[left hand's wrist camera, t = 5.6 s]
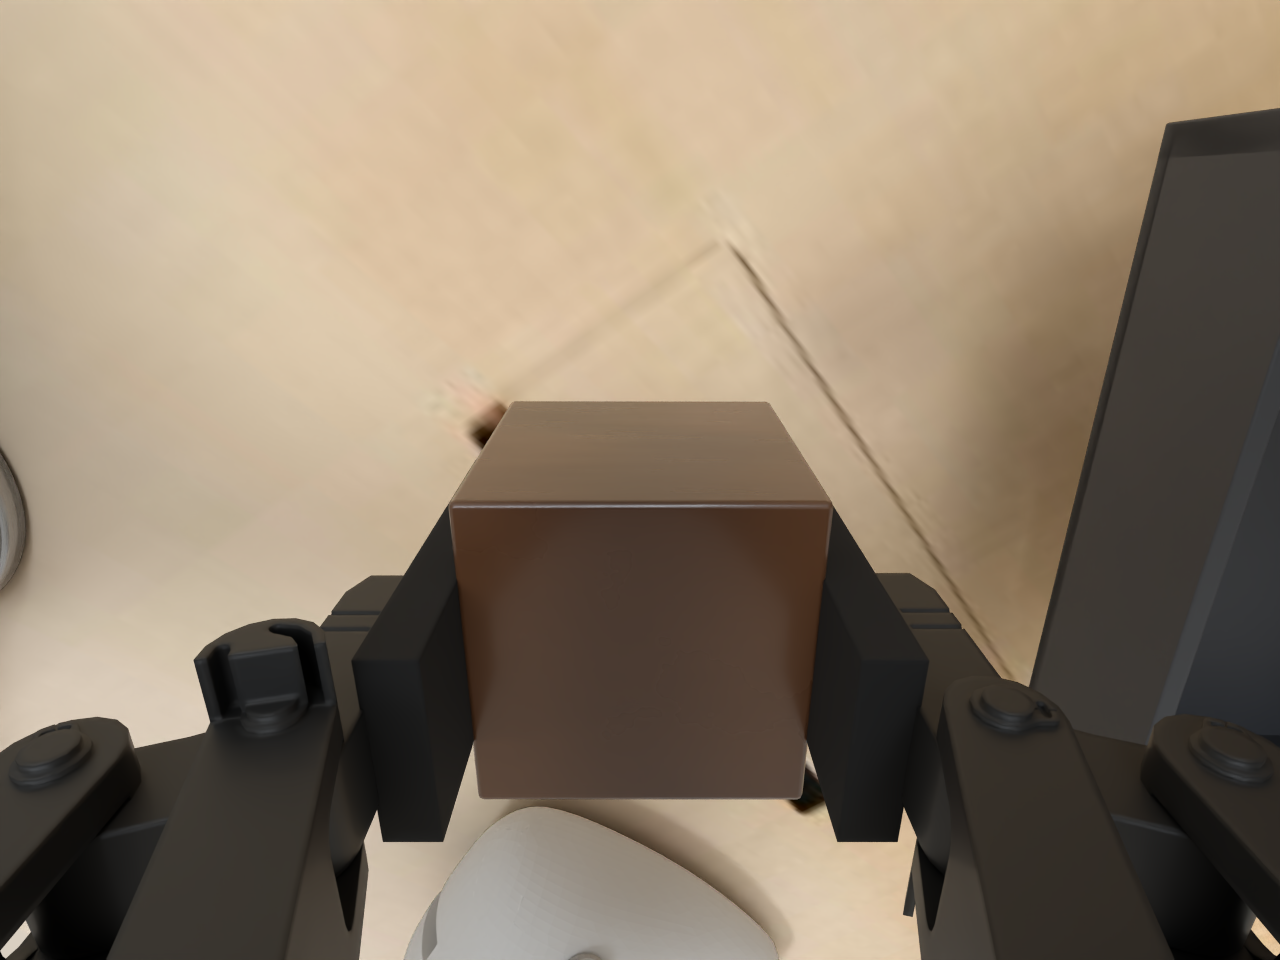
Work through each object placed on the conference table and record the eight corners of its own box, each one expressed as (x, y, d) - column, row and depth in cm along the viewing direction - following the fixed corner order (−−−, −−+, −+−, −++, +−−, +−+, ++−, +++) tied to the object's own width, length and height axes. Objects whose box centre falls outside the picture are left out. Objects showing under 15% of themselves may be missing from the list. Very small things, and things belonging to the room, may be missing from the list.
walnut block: (525, 622, 16) (477, 801, 11) (510, 400, 14) (446, 502, 9) (754, 622, 16) (802, 801, 11) (770, 400, 14) (835, 503, 9)
